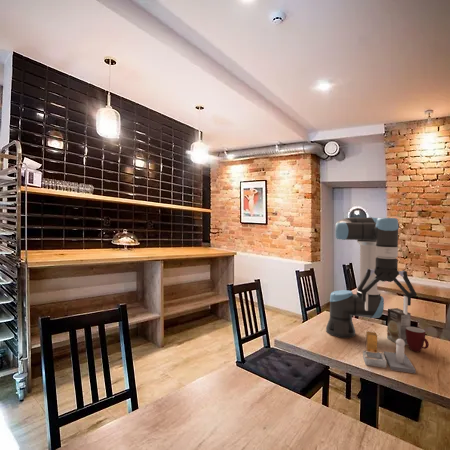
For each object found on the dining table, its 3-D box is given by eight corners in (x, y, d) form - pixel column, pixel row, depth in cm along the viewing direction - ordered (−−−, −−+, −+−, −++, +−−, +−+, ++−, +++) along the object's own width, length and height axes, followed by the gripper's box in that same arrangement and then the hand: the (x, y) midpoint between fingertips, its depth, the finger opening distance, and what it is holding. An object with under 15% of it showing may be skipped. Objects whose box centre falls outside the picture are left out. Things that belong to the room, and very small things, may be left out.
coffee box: (386, 338, 155) (386, 308, 155) (396, 337, 157) (397, 307, 157) (400, 345, 146) (400, 313, 146) (410, 344, 148) (411, 313, 148)
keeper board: (383, 354, 136) (383, 329, 136) (405, 357, 133) (405, 332, 133) (390, 369, 122) (391, 342, 122) (415, 373, 119) (416, 345, 119)
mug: (434, 354, 137) (434, 332, 137) (423, 357, 134) (424, 335, 134) (411, 345, 147) (412, 325, 147) (401, 348, 143) (401, 327, 143)
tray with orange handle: (361, 351, 139) (361, 330, 138) (380, 354, 136) (380, 333, 136) (365, 364, 126) (365, 341, 126) (386, 368, 123) (386, 344, 123)
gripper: (352, 257, 113) (351, 311, 114) (427, 260, 106) (426, 318, 106) (350, 254, 120) (349, 305, 121) (420, 257, 113) (419, 312, 113)
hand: (385, 311), depth 113 cm, fingers open, 13 cm apart
